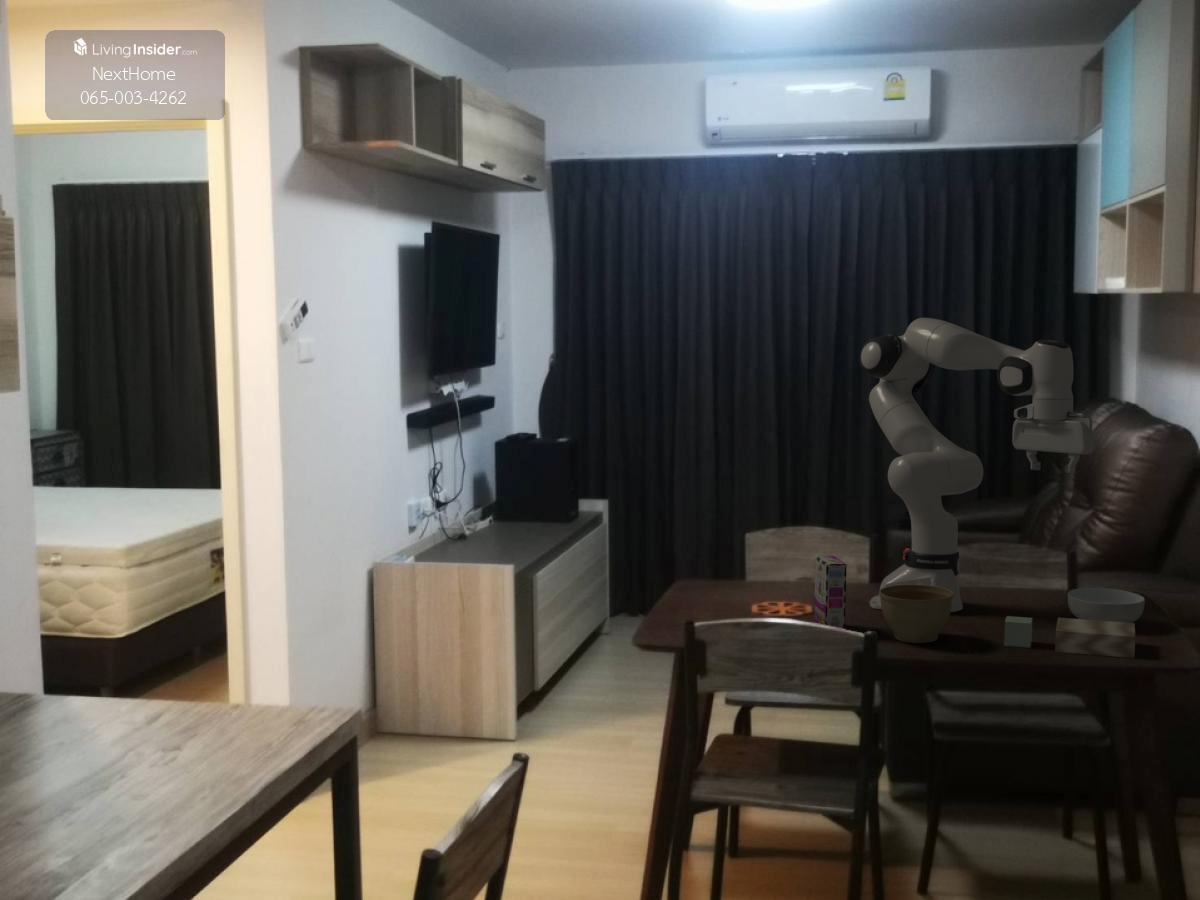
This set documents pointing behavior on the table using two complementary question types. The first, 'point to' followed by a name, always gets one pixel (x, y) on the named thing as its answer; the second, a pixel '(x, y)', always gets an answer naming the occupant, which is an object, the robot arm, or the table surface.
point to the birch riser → (1095, 637)
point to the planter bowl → (916, 611)
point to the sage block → (1018, 632)
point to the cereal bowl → (1105, 604)
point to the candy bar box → (830, 591)
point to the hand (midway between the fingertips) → (1052, 471)
